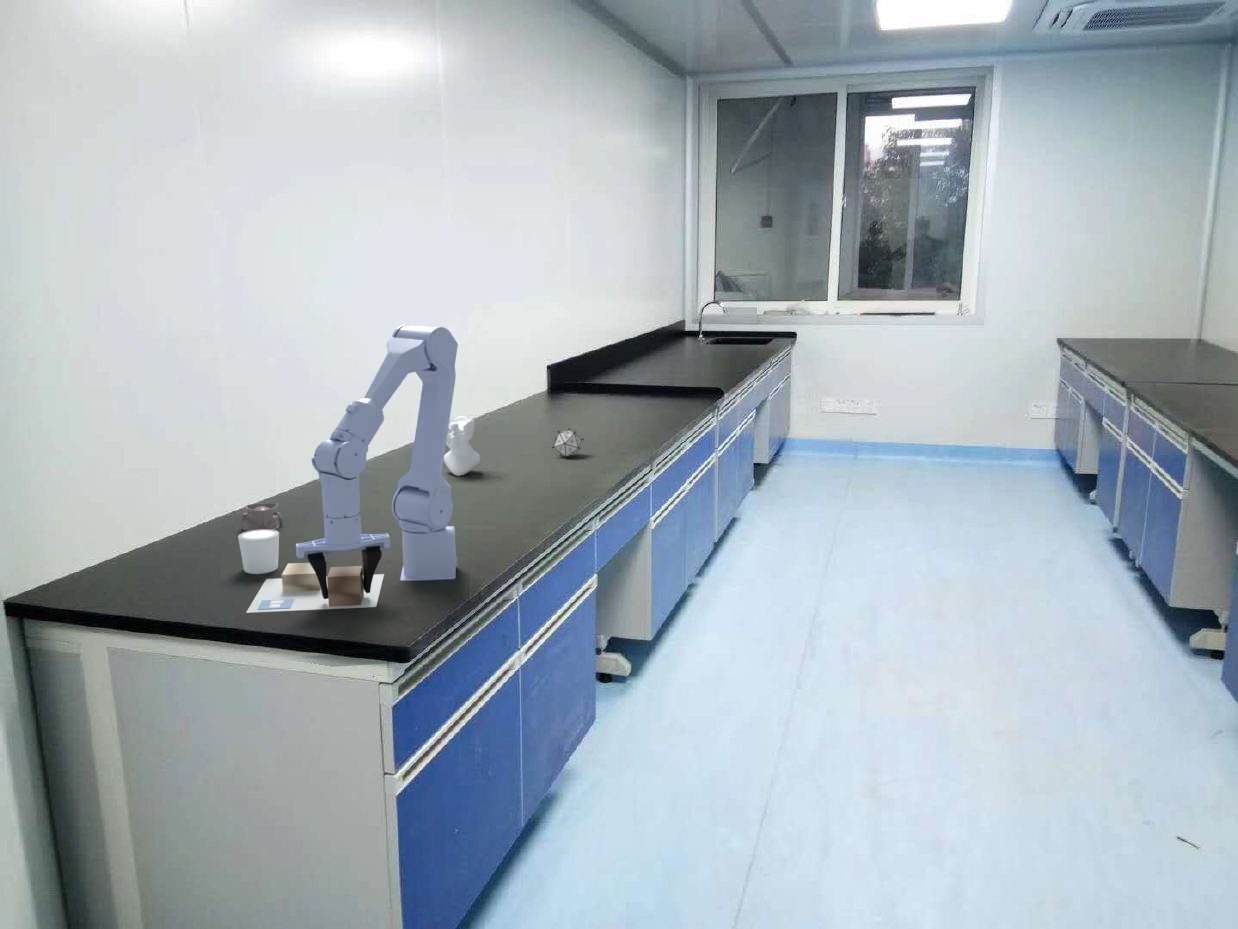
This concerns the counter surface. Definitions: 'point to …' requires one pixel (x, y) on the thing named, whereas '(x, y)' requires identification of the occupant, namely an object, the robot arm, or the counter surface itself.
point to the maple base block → (299, 578)
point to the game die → (567, 443)
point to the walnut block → (345, 586)
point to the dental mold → (261, 517)
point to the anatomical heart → (460, 446)
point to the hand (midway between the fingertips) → (346, 594)
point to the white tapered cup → (259, 550)
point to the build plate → (304, 598)
